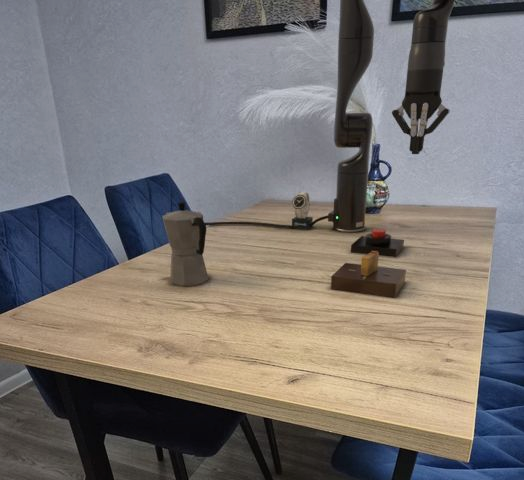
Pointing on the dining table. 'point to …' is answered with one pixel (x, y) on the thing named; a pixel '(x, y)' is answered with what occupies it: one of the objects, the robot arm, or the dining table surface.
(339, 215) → the robot arm
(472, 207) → the dining table surface
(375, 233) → the arm button
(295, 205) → the watch
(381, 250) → the alarm box
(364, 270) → the thumbturn
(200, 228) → the coffeepot
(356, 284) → the plate
